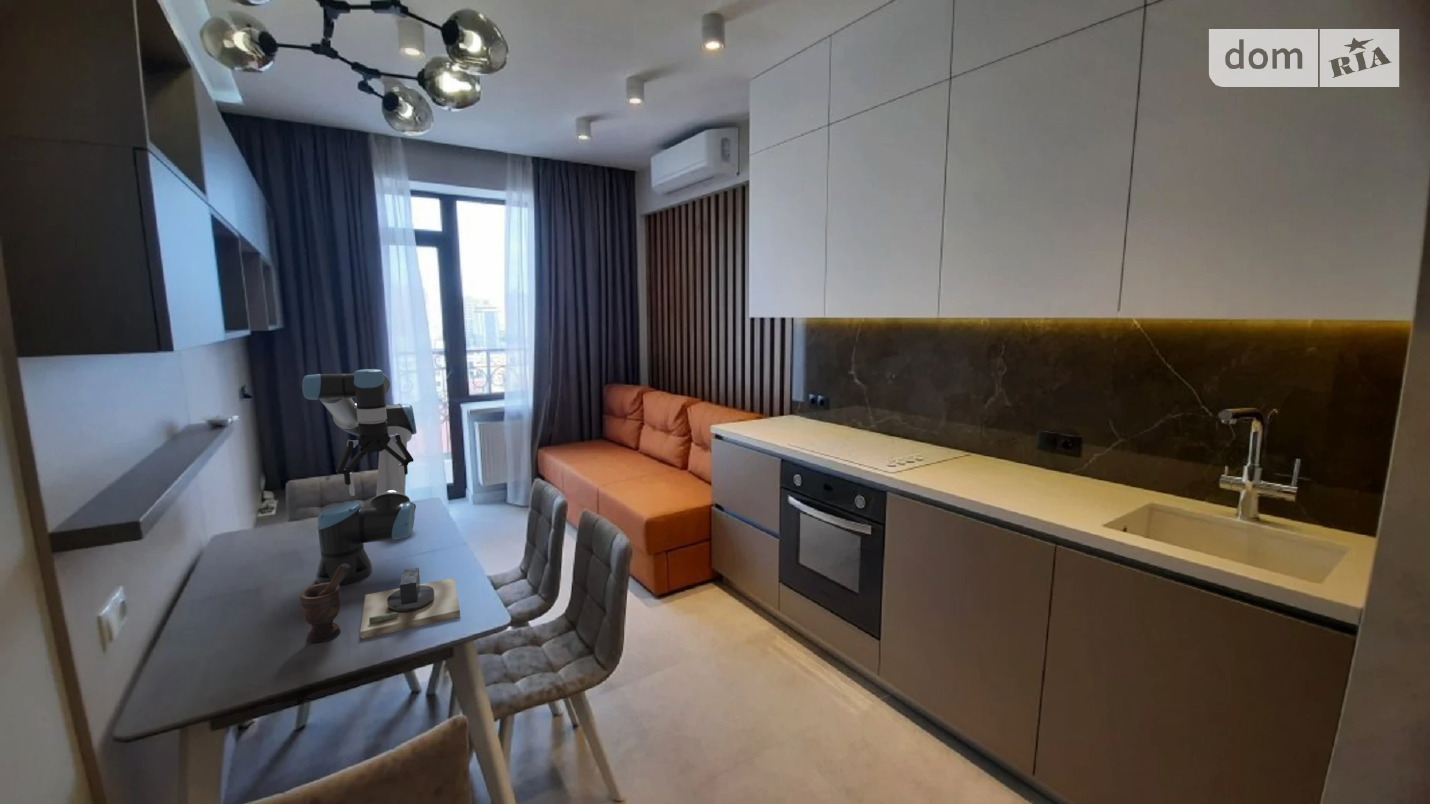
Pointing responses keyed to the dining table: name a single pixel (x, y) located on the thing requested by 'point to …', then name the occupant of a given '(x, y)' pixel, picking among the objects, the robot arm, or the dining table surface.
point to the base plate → (386, 621)
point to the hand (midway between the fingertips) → (378, 489)
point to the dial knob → (410, 593)
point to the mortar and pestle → (323, 606)
